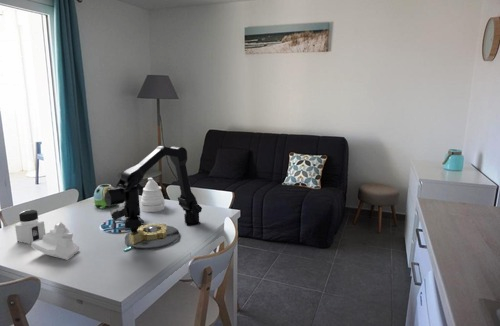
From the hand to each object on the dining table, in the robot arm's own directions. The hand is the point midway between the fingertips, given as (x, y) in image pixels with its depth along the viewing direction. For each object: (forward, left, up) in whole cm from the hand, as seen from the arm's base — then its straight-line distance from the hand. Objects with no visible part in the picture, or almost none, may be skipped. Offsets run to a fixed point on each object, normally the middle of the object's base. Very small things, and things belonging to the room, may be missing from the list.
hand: (134, 235), depth 140 cm
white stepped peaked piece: (+28, +1, -4) cm, 29 cm away
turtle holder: (+13, -58, -4) cm, 59 cm away
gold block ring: (-6, -1, -2) cm, 7 cm away
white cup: (+2, -31, -4) cm, 31 cm away
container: (+42, -19, -4) cm, 46 cm away
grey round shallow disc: (-8, -3, -3) cm, 9 cm away
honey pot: (-11, -45, -4) cm, 46 cm away
